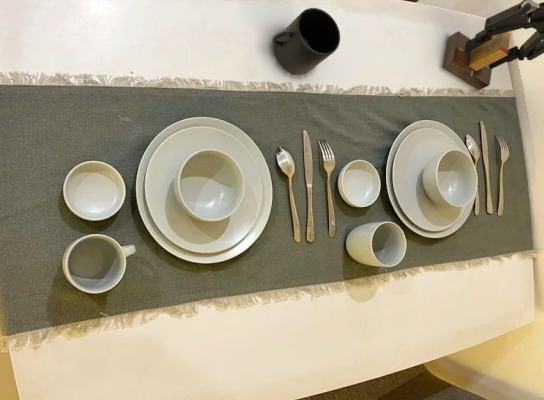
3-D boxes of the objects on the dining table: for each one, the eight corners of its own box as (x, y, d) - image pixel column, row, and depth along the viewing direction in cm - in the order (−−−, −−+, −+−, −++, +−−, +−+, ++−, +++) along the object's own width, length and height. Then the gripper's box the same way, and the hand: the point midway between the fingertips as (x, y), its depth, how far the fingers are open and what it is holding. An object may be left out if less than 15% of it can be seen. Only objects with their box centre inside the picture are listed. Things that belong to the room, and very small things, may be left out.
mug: (260, 27, 94) (282, 1, 86) (311, 34, 98) (337, 11, 90) (264, 71, 92) (287, 50, 84) (316, 77, 97) (343, 57, 89)
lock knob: (472, 45, 113) (503, 27, 105) (479, 50, 114) (511, 33, 106) (468, 66, 111) (500, 49, 104) (476, 71, 112) (508, 55, 104)
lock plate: (483, 58, 118) (495, 52, 116) (478, 92, 115) (489, 87, 112) (448, 35, 115) (459, 28, 112) (441, 69, 112) (452, 63, 109)
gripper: (545, -12, 86) (444, 47, 107) (615, 42, 92) (506, 88, 113) (549, -42, 89) (449, 21, 109) (617, 12, 95) (510, 63, 115)
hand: (478, 55), depth 111 cm, fingers open, 7 cm apart
